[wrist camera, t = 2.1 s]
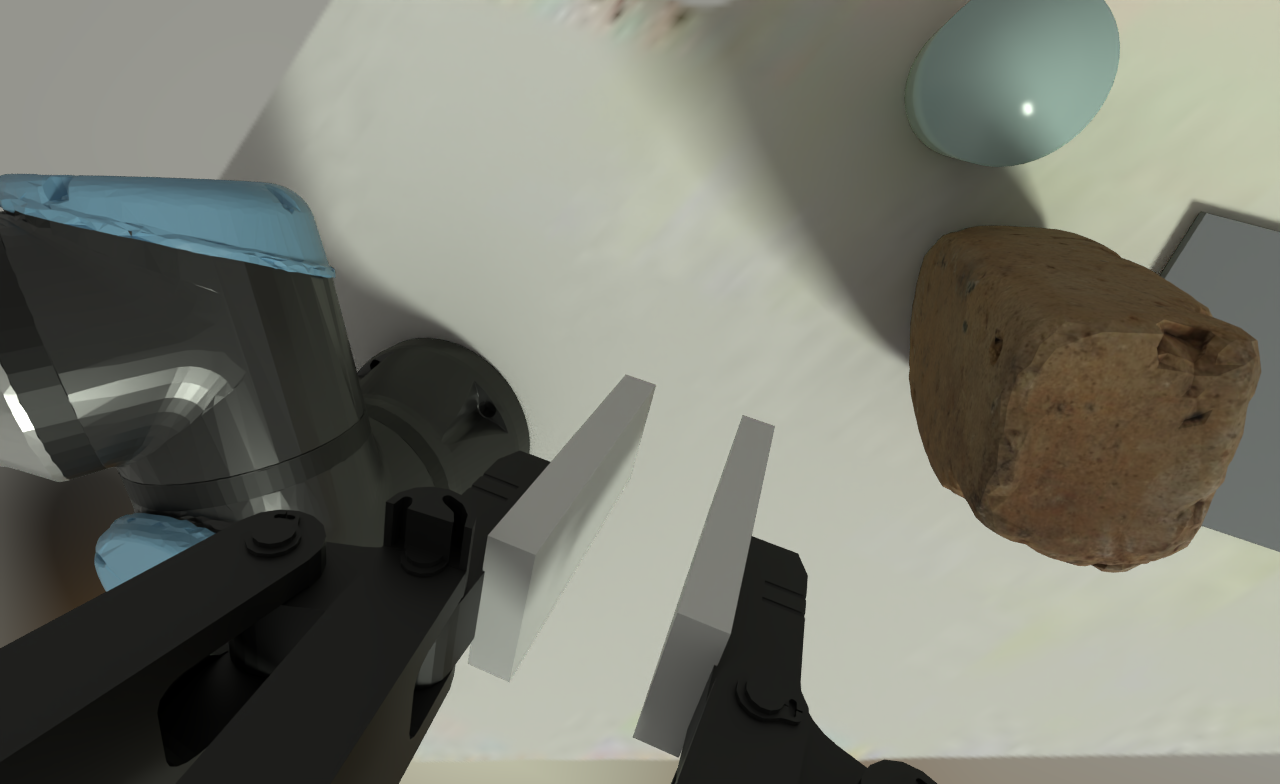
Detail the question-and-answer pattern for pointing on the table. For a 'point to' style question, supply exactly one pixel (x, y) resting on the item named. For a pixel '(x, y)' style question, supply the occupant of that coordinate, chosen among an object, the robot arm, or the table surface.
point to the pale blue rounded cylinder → (1012, 78)
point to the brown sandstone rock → (1074, 394)
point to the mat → (1276, 317)
